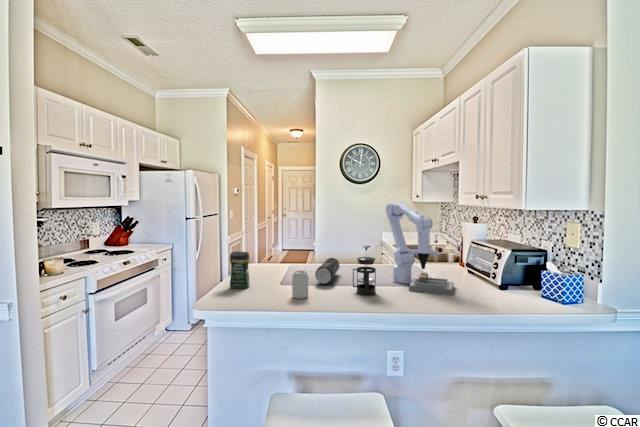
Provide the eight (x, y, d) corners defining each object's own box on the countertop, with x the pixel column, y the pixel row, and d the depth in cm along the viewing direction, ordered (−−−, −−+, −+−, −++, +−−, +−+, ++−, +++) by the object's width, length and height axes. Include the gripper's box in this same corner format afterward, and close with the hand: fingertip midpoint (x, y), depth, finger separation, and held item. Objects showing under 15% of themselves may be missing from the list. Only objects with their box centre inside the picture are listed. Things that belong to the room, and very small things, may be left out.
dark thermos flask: (340, 274, 209) (340, 257, 209) (332, 287, 182) (332, 267, 181) (324, 274, 211) (324, 257, 210) (314, 286, 184) (314, 266, 183)
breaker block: (408, 290, 174) (409, 276, 174) (413, 283, 189) (413, 270, 189) (452, 295, 167) (452, 280, 166) (453, 286, 181) (453, 273, 181)
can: (310, 295, 167) (310, 270, 166) (304, 300, 160) (304, 274, 159) (296, 294, 169) (295, 269, 168) (289, 298, 162) (289, 272, 161)
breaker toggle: (419, 284, 176) (419, 276, 175) (419, 283, 178) (420, 274, 178) (425, 285, 174) (425, 276, 174) (426, 283, 177) (426, 275, 177)
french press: (376, 290, 175) (376, 244, 174) (378, 295, 166) (378, 247, 164) (352, 290, 176) (352, 244, 174) (353, 295, 166) (353, 247, 165)
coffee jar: (227, 289, 178) (227, 252, 177) (233, 285, 186) (233, 250, 185) (246, 289, 176) (245, 253, 175) (251, 285, 184) (251, 250, 183)
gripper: (407, 241, 175) (407, 268, 176) (438, 243, 170) (437, 271, 170) (409, 240, 182) (409, 266, 182) (439, 241, 176) (438, 268, 177)
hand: (423, 268), depth 177 cm, fingers closed
